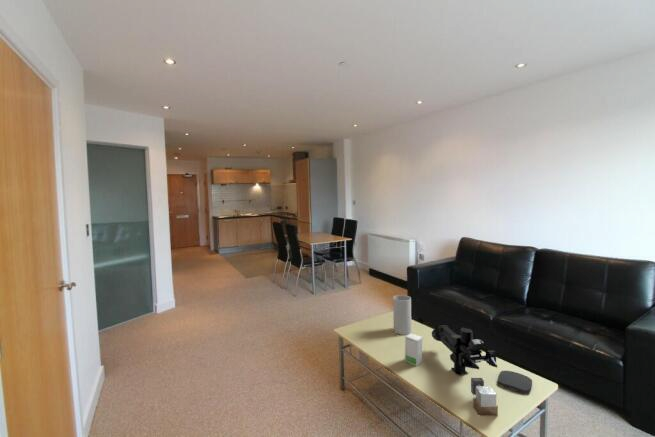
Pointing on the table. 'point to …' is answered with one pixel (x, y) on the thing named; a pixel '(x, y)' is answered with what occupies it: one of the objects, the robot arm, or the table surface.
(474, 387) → the plunger
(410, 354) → the skincare box
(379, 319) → the table surface
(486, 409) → the grey brown block
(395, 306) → the cylinder vase
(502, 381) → the media streaming box
